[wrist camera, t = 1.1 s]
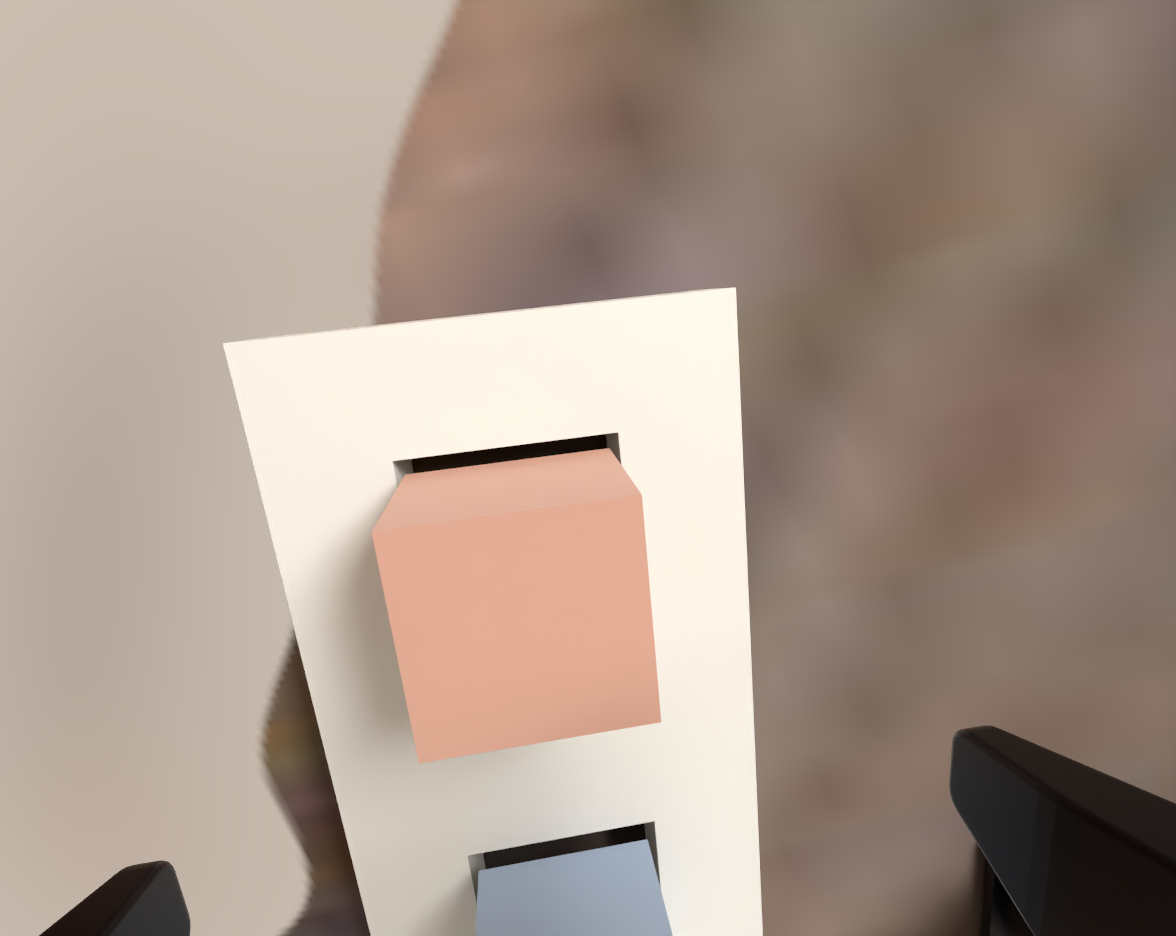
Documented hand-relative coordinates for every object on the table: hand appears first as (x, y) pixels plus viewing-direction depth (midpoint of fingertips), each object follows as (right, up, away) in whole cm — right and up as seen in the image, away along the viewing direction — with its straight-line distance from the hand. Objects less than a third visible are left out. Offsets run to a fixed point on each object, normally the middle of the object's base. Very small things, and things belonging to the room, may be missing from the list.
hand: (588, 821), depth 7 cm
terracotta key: (-2, +2, +9) cm, 9 cm away
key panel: (-1, -3, +13) cm, 14 cm away
